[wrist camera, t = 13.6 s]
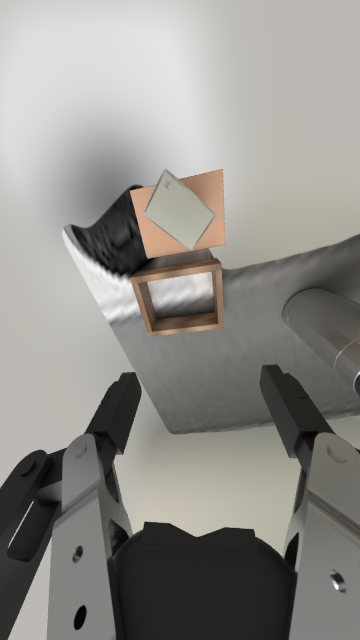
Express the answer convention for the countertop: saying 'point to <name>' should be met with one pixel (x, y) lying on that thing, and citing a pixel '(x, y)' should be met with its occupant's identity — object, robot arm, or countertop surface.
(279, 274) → the countertop surface
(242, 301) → the countertop surface
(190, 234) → the skincare box
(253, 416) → the countertop surface
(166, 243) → the terracotta tile
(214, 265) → the frame
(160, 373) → the countertop surface
